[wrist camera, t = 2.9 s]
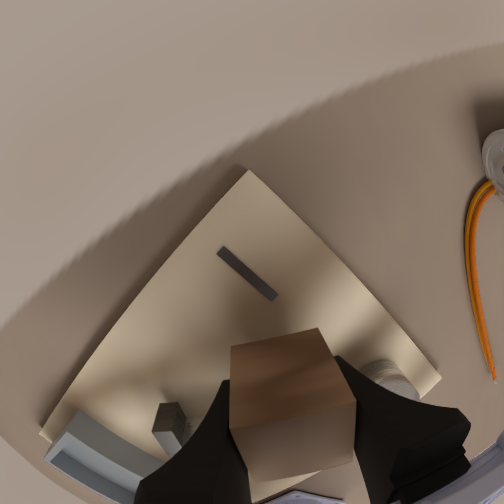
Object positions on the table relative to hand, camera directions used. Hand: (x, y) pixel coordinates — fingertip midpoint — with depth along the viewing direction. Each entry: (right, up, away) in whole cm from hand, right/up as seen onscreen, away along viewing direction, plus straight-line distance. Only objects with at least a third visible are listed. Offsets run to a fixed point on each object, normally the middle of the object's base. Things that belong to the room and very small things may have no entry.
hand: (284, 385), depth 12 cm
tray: (-13, -12, +5) cm, 19 cm away
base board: (-4, -7, +5) cm, 10 cm away
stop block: (0, 0, +1) cm, 1 cm away
